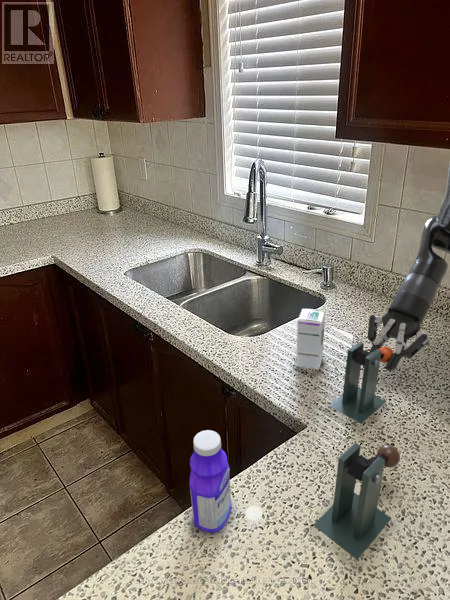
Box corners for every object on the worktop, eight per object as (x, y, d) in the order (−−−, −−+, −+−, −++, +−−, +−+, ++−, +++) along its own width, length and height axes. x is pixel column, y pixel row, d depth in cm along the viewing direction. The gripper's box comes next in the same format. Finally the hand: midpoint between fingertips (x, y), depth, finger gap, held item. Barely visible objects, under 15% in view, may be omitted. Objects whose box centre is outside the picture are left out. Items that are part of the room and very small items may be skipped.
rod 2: (379, 457, 76) (386, 438, 75) (399, 469, 73) (406, 450, 73) (341, 473, 66) (349, 452, 66) (363, 488, 64) (371, 465, 63)
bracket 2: (348, 493, 77) (356, 428, 70) (390, 523, 72) (404, 455, 65) (312, 530, 71) (318, 462, 64) (356, 565, 66) (367, 495, 59)
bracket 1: (353, 389, 102) (360, 333, 96) (385, 405, 97) (395, 348, 90) (327, 410, 96) (333, 352, 90) (360, 428, 91) (368, 368, 84)
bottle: (221, 542, 70) (216, 461, 62) (187, 532, 72) (179, 451, 64) (236, 504, 76) (233, 426, 68) (205, 495, 78) (199, 418, 70)
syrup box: (319, 374, 108) (323, 321, 101) (294, 370, 109) (297, 318, 103) (322, 361, 113) (326, 310, 106) (299, 357, 114) (301, 307, 108)
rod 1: (378, 358, 101) (383, 343, 100) (393, 364, 98) (398, 349, 98) (349, 362, 91) (355, 346, 91) (365, 370, 89) (371, 353, 88)
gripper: (380, 282, 101) (345, 348, 100) (442, 301, 92) (405, 375, 90) (389, 295, 107) (356, 358, 105) (449, 314, 97) (414, 384, 96)
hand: (379, 365), depth 98 cm, fingers closed on rod 1, 3 cm apart
